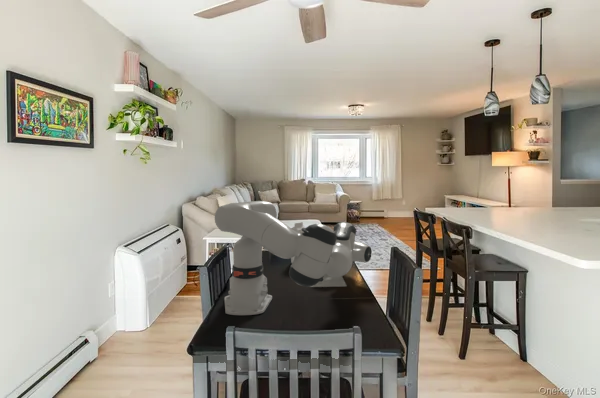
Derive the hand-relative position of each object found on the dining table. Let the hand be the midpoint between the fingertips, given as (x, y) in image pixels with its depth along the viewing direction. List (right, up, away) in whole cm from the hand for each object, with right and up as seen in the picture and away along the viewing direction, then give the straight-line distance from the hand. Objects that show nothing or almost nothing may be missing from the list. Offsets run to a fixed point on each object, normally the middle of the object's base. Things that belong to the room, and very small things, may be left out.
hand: (322, 243), depth 181 cm
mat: (0, -15, -16) cm, 22 cm away
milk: (-12, -12, +14) cm, 22 cm away
